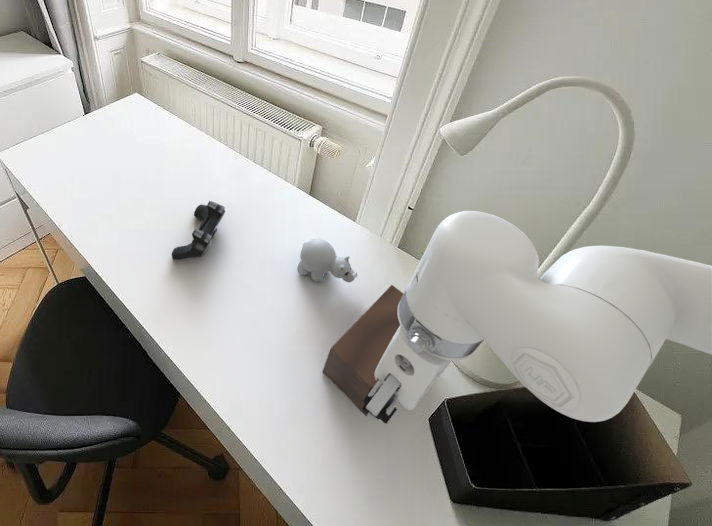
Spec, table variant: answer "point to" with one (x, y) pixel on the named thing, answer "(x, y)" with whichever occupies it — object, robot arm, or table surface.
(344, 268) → the round bodied animal figurine
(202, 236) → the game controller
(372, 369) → the cabinet
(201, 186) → the table surface
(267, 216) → the table surface
